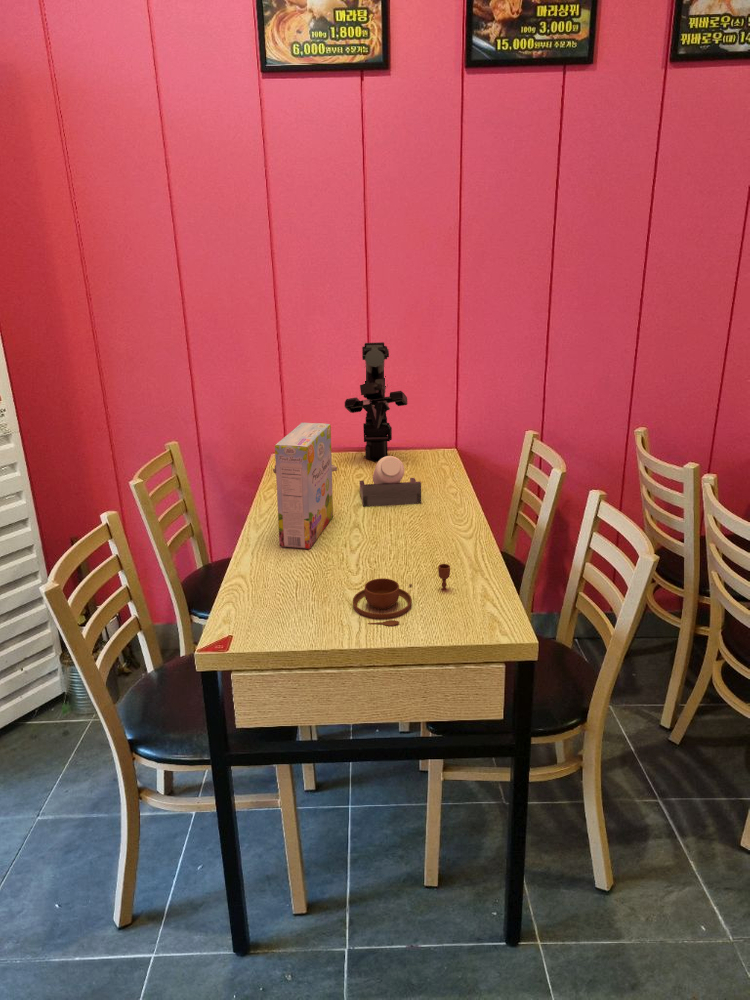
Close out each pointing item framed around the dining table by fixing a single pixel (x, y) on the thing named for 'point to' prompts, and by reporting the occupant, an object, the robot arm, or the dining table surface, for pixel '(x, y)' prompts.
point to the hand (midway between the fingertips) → (376, 428)
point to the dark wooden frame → (391, 493)
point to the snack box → (304, 484)
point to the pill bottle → (388, 470)
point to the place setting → (390, 596)
